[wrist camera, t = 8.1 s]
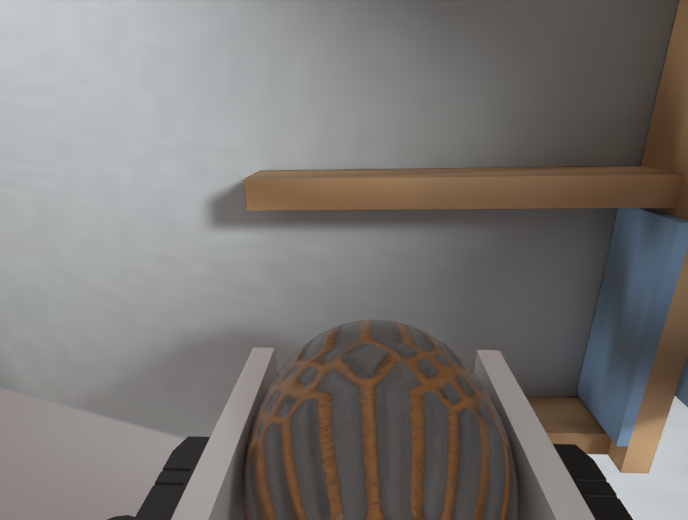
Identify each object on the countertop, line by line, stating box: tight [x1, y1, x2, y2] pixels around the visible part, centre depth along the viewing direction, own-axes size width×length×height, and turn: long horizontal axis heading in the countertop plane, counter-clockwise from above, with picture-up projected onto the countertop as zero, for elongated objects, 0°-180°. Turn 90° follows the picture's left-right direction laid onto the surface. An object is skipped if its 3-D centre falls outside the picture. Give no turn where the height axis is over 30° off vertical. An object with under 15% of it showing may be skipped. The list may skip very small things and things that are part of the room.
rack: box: [244, 0, 688, 473], centre depth 15 cm, size 25×17×4 cm
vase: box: [244, 320, 520, 520], centre depth 10 cm, size 7×7×9 cm
